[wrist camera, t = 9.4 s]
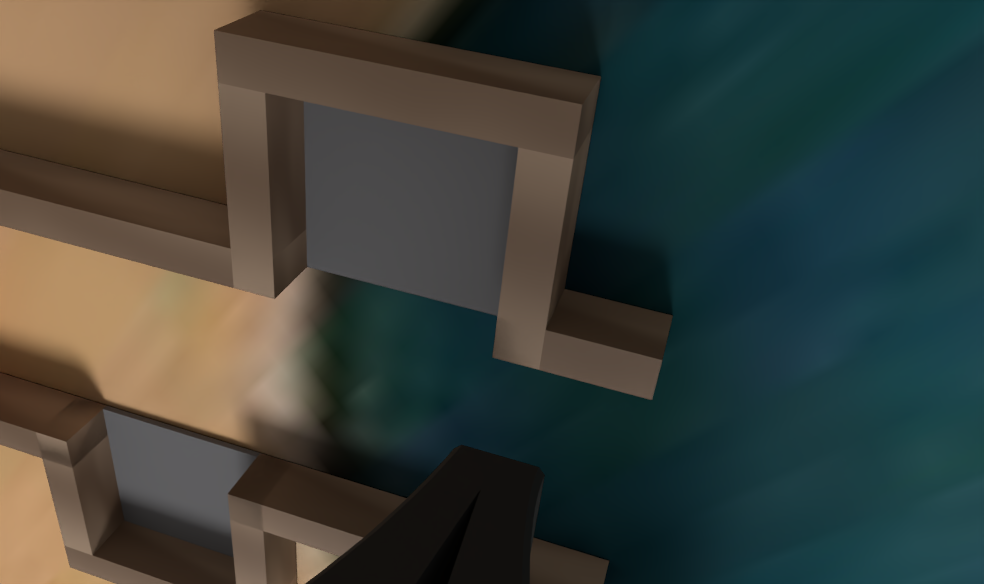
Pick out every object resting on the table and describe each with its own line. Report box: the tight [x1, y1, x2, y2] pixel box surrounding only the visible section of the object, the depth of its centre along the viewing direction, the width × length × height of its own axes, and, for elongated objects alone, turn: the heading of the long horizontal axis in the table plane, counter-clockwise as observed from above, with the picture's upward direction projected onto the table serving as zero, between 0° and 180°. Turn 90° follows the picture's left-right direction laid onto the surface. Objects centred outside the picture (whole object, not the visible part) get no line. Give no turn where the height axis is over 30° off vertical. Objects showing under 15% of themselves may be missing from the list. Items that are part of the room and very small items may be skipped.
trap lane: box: [0, 10, 673, 584], centre depth 26 cm, size 22×31×3 cm
